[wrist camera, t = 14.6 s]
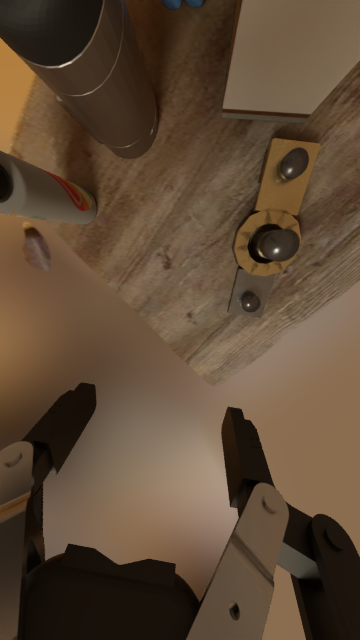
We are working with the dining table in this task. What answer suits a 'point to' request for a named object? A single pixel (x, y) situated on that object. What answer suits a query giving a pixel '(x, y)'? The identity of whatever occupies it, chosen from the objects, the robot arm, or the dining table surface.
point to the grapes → (175, 0)
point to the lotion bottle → (42, 194)
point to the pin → (275, 244)
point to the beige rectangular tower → (288, 56)
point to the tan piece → (271, 219)
